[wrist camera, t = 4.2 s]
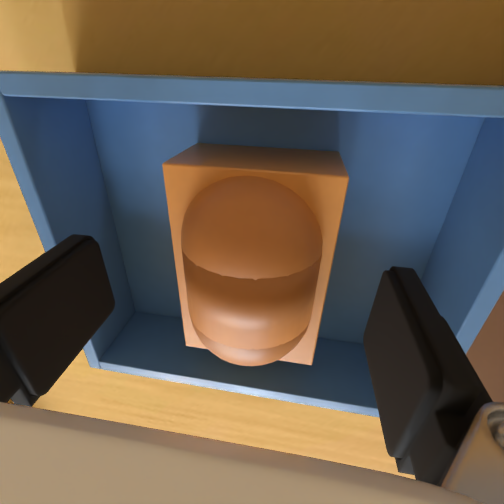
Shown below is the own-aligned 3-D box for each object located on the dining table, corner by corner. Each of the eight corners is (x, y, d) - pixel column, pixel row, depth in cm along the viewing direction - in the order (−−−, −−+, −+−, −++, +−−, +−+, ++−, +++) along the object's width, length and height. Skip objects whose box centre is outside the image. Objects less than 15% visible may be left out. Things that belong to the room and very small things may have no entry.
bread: (339, 151, 11) (359, 199, 6) (311, 312, 15) (312, 408, 10) (196, 142, 11) (129, 180, 7) (207, 299, 15) (168, 383, 11)
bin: (509, 85, 9) (624, 91, 6) (399, 349, 16) (424, 425, 12) (74, 72, 11) (-28, 70, 8) (132, 311, 18) (89, 367, 14)
